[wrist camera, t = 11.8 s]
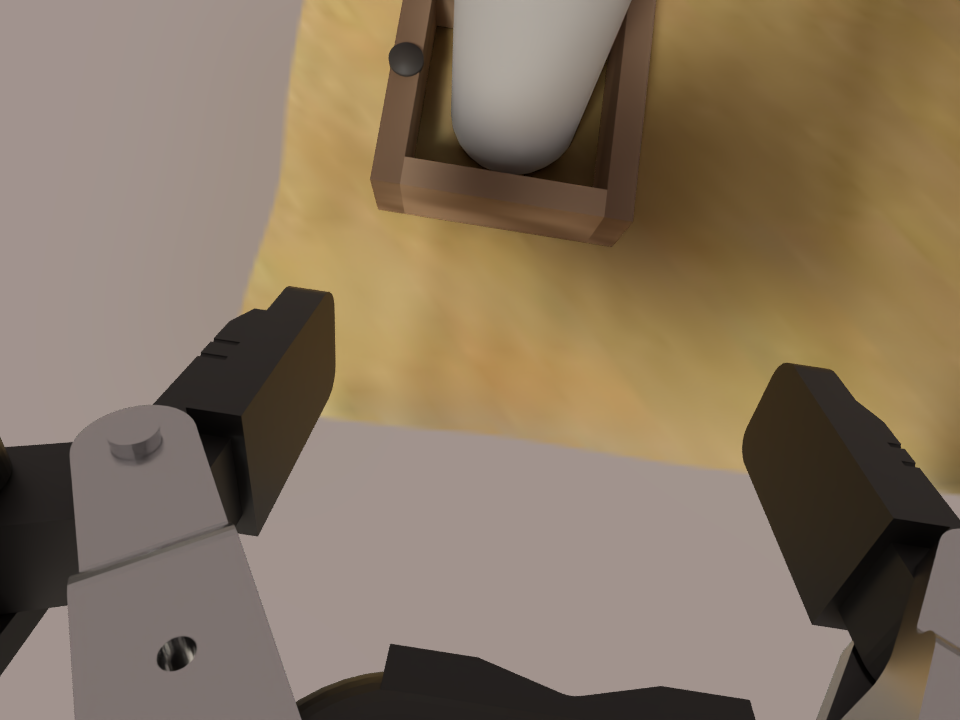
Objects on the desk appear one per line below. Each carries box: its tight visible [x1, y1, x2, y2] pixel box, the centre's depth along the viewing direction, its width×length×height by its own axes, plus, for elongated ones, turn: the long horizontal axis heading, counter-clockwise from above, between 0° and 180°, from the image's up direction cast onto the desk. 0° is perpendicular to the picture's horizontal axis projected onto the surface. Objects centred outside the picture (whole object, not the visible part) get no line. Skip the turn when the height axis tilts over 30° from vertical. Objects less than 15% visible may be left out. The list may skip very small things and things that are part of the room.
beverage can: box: [451, 0, 631, 175], centre depth 17 cm, size 5×5×12 cm
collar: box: [370, 0, 656, 247], centre depth 21 cm, size 9×9×3 cm
